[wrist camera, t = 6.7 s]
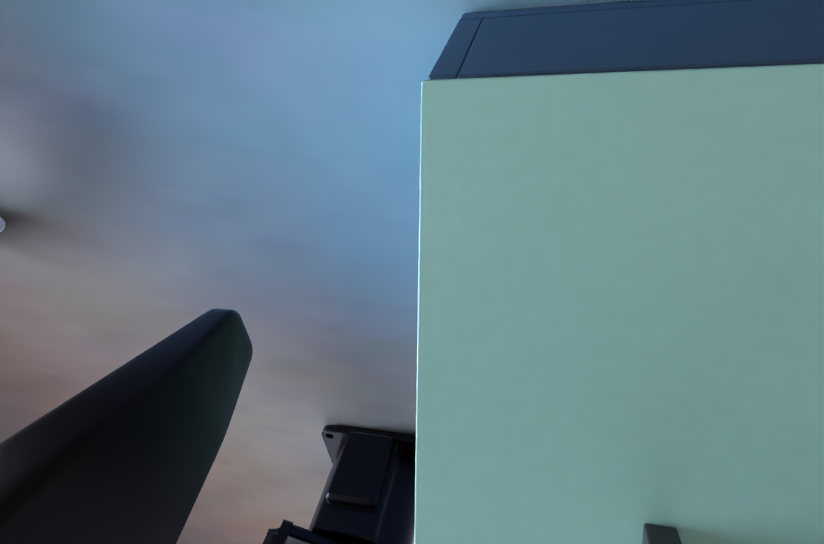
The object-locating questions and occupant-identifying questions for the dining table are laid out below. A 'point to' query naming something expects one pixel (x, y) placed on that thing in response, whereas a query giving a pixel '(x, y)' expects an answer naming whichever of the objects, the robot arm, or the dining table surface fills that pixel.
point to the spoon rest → (2, 224)
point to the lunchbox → (634, 38)
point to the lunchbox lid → (622, 308)
